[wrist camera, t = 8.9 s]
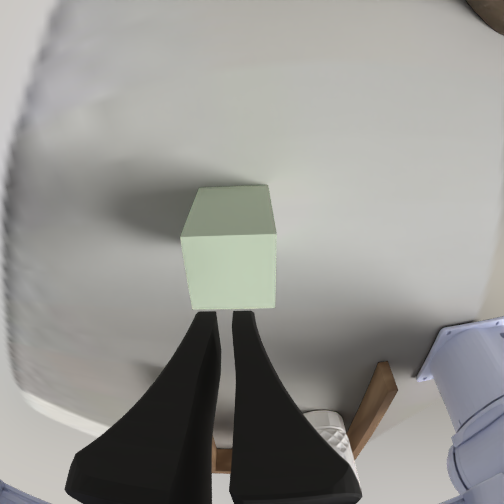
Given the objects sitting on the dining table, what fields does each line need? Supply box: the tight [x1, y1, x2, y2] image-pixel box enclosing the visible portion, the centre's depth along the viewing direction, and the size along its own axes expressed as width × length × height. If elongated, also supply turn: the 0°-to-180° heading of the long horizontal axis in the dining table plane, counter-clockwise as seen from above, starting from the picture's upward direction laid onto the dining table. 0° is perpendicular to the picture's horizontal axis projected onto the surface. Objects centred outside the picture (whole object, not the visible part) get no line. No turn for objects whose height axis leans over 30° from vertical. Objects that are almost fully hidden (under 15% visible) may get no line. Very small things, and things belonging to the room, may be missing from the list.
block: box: [180, 185, 277, 310], centre depth 17 cm, size 4×4×6 cm
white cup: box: [303, 410, 361, 488], centre depth 29 cm, size 8×8×10 cm
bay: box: [212, 361, 398, 474], centre depth 30 cm, size 19×19×4 cm
